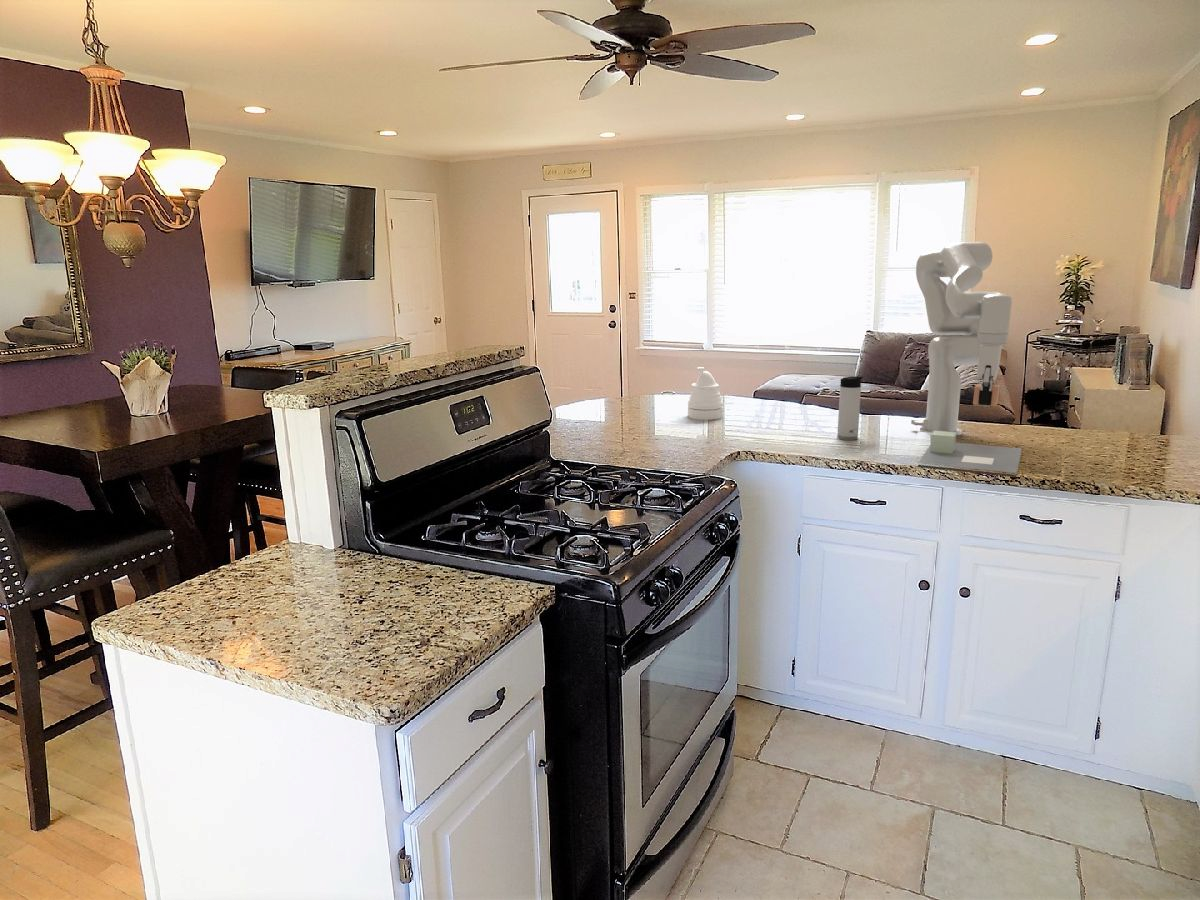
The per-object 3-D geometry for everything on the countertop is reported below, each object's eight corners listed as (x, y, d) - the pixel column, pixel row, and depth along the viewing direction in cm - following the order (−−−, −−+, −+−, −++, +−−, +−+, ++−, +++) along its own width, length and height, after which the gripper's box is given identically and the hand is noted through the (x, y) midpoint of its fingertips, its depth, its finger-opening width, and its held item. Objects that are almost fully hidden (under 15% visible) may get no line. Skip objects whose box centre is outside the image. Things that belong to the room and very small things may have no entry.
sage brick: (929, 451, 227) (931, 434, 226) (932, 447, 232) (934, 430, 231) (952, 453, 224) (953, 436, 223) (954, 449, 229) (956, 432, 228)
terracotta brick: (972, 404, 223) (974, 387, 222) (974, 400, 228) (976, 383, 227) (996, 406, 220) (998, 388, 219) (997, 402, 225) (999, 385, 224)
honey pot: (686, 419, 285) (687, 370, 281) (688, 412, 298) (689, 365, 293) (722, 419, 283) (723, 370, 279) (723, 413, 296) (724, 365, 291)
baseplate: (917, 466, 215) (918, 462, 215) (932, 444, 241) (933, 440, 240) (1016, 477, 204) (1016, 472, 203) (1021, 452, 229) (1021, 448, 229)
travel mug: (855, 441, 247) (859, 377, 242) (834, 439, 250) (838, 376, 246) (861, 437, 252) (864, 375, 247) (840, 435, 255) (843, 374, 251)
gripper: (980, 335, 228) (973, 396, 233) (974, 342, 214) (967, 407, 219) (1009, 336, 225) (1002, 398, 230) (1005, 343, 210) (997, 409, 215)
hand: (985, 402), depth 224 cm, fingers closed on terracotta brick, 5 cm apart
